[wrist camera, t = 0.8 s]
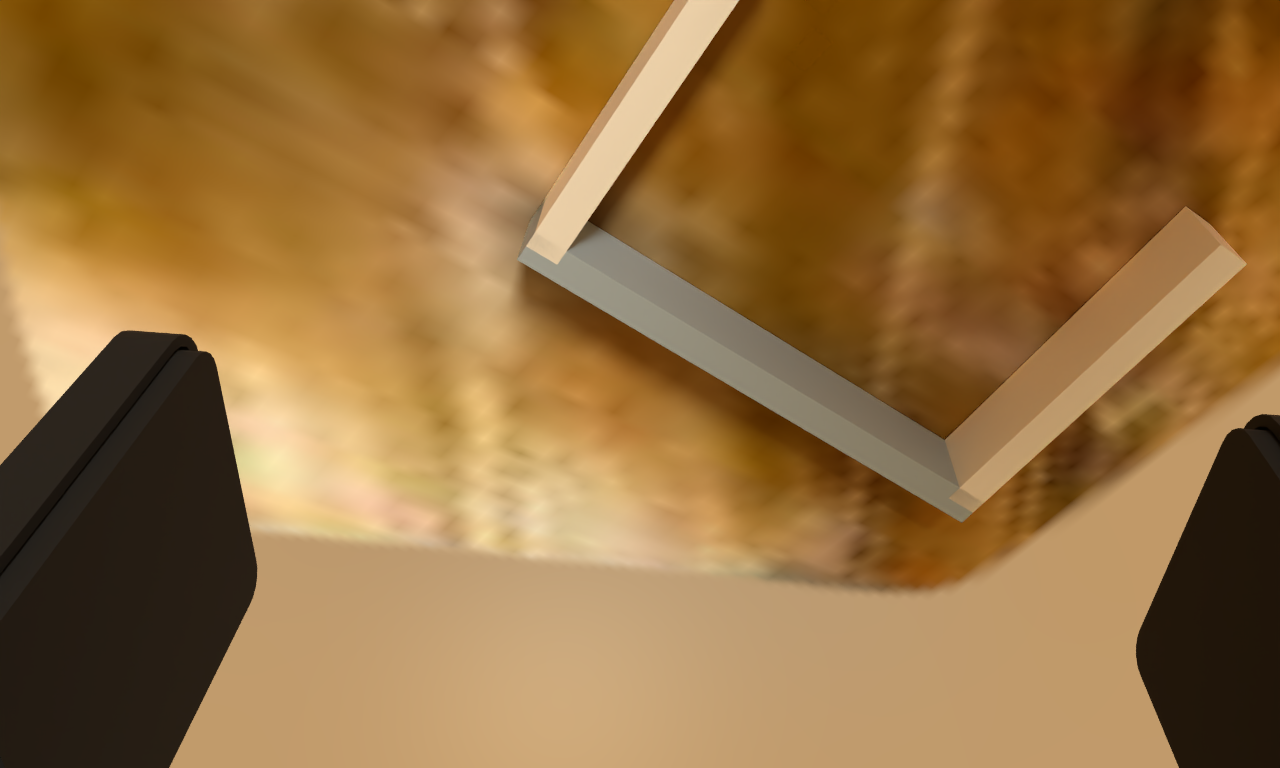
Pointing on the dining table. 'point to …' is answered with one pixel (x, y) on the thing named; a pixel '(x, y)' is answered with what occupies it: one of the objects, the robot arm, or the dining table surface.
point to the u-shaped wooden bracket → (808, 391)
